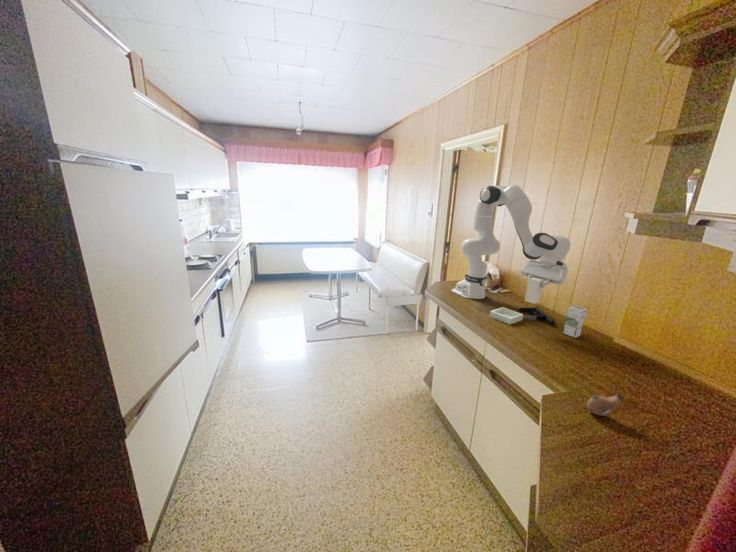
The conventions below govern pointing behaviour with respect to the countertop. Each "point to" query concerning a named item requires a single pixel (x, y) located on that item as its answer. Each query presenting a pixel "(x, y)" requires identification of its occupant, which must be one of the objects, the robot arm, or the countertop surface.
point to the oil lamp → (603, 404)
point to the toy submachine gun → (537, 315)
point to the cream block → (534, 290)
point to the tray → (506, 315)
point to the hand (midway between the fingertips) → (534, 285)
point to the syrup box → (574, 321)
